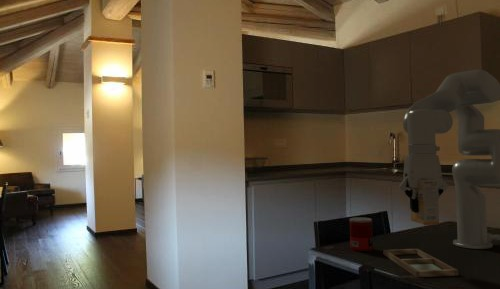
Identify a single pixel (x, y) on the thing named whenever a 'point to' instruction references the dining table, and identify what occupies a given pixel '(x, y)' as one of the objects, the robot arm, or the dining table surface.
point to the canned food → (361, 234)
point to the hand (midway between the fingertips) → (424, 211)
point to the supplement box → (427, 203)
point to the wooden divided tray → (421, 263)
